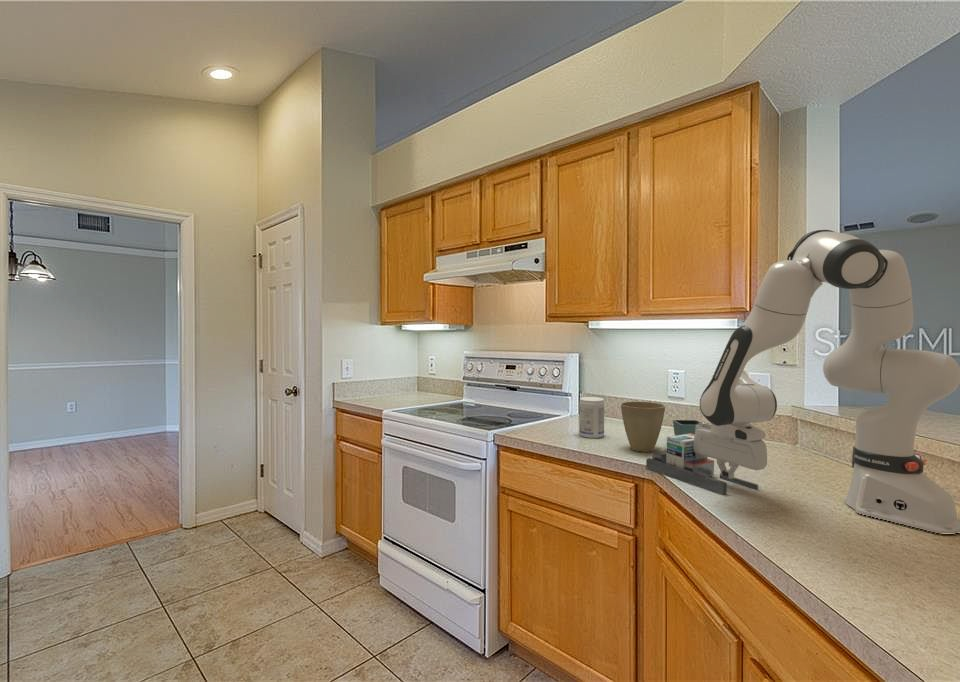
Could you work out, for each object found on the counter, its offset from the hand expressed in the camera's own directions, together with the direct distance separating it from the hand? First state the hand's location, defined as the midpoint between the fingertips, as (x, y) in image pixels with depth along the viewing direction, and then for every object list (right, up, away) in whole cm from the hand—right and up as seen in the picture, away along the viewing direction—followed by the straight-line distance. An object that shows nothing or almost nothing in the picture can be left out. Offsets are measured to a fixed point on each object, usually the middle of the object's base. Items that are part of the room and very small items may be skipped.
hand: (727, 477), depth 137 cm
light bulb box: (-6, -2, +12) cm, 14 cm away
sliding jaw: (-5, -2, +7) cm, 9 cm away
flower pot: (+7, -1, +42) cm, 43 cm away
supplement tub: (-24, 0, +58) cm, 63 cm away
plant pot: (-11, -1, +38) cm, 40 cm away
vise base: (-5, -2, +7) cm, 8 cm away
